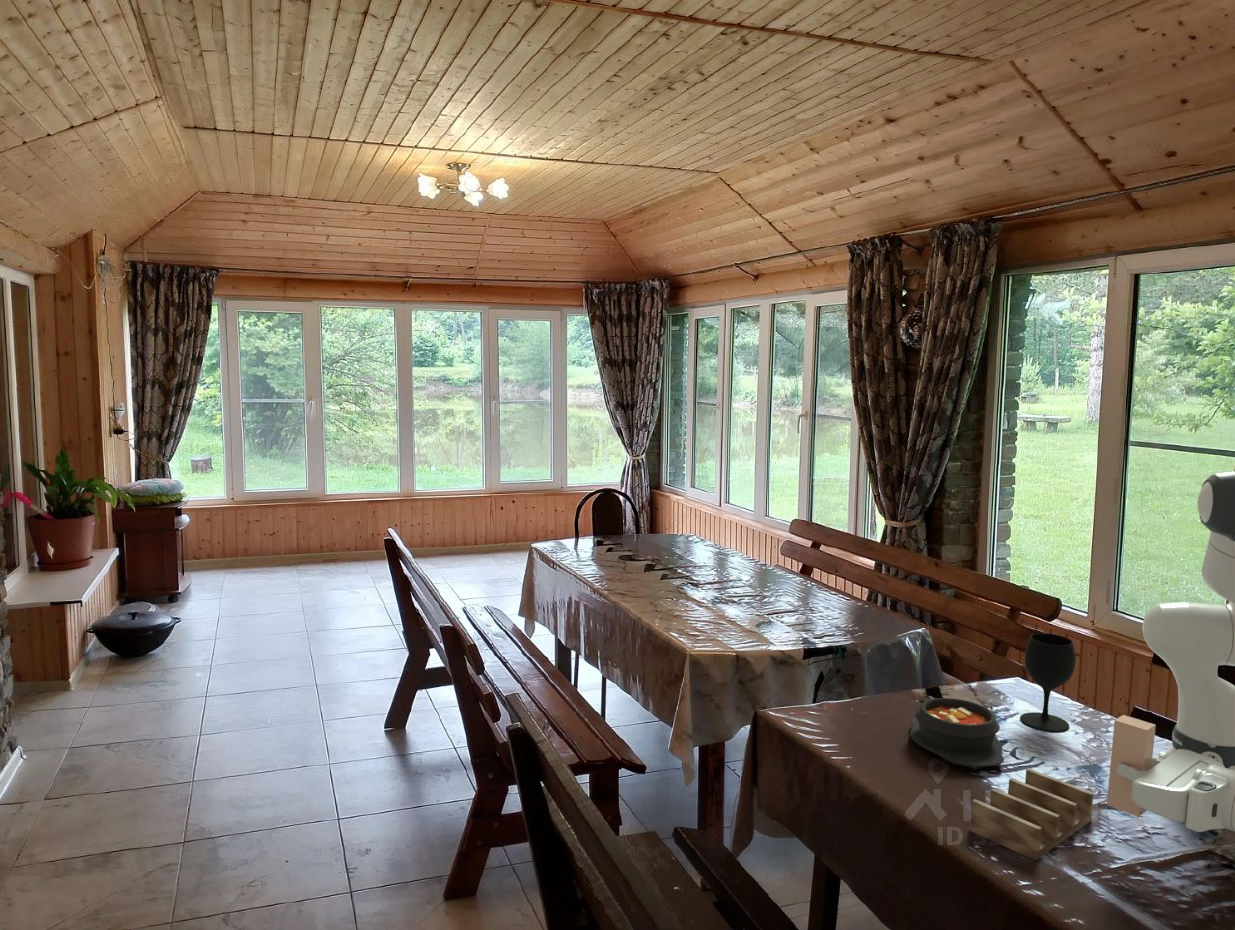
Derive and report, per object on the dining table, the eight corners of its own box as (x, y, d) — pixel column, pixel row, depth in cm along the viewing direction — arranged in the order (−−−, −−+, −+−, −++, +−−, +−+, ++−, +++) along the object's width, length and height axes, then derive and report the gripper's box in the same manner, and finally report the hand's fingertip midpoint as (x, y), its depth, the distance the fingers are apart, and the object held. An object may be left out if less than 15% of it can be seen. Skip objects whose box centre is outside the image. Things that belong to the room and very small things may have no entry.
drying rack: (1091, 820, 165) (1094, 792, 165) (1035, 860, 152) (1038, 829, 151) (1027, 794, 175) (1029, 767, 174) (969, 830, 161) (971, 801, 161)
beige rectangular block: (1147, 810, 151) (1155, 724, 149) (1138, 817, 149) (1147, 730, 147) (1115, 798, 155) (1123, 714, 153) (1106, 804, 153) (1114, 720, 151)
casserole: (1026, 775, 183) (1029, 735, 182) (936, 776, 182) (939, 736, 181) (971, 723, 208) (973, 688, 206) (891, 724, 206) (893, 688, 205)
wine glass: (1055, 713, 214) (1062, 632, 211) (1078, 732, 203) (1086, 647, 201) (1011, 713, 213) (1018, 631, 211) (1033, 732, 203) (1040, 646, 200)
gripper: (1244, 757, 147) (1151, 728, 158) (1197, 796, 134) (1100, 762, 145) (1239, 794, 148) (1148, 763, 158) (1193, 836, 135) (1097, 799, 145)
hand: (1124, 763), depth 151 cm, fingers closed on beige rectangular block, 3 cm apart
